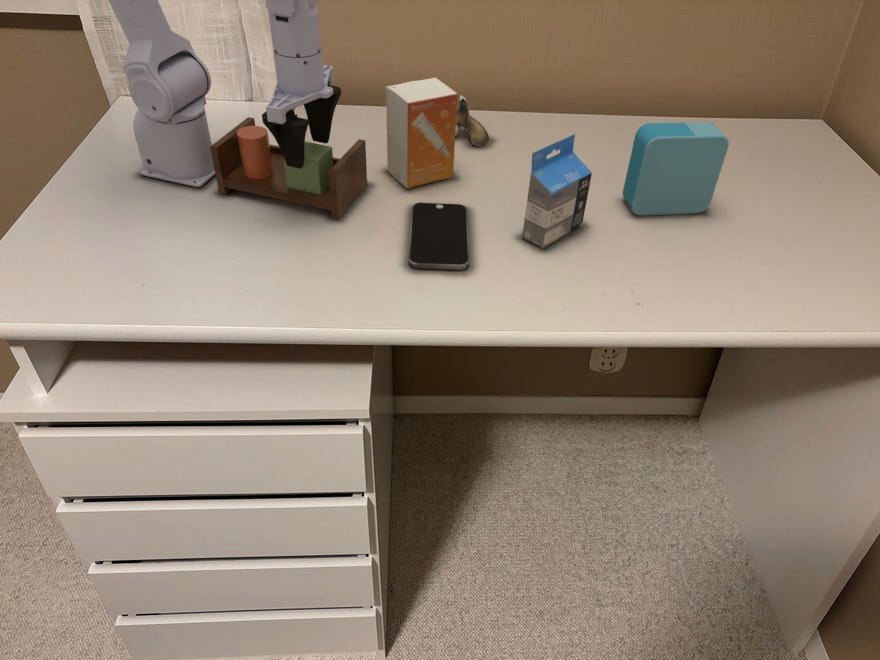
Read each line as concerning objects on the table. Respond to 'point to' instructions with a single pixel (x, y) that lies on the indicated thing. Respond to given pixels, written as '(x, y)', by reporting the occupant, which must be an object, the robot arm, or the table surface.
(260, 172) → the terracotta cylinder
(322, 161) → the green block
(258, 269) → the table surface
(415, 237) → the smartphone
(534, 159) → the ink cartridge box
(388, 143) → the small box
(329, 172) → the shelf
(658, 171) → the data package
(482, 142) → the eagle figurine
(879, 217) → the table surface
